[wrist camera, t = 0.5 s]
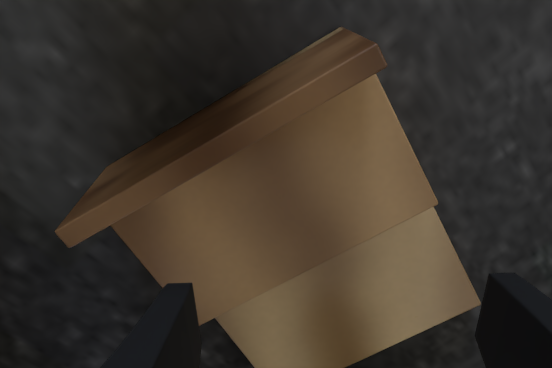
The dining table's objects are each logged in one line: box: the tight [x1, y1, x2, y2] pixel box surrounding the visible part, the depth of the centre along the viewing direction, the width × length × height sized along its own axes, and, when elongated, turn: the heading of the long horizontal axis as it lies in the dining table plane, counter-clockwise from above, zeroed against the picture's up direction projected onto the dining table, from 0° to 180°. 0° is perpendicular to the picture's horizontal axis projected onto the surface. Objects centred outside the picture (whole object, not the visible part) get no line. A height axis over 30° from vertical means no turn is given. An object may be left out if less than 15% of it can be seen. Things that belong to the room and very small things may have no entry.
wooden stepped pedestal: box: [55, 27, 481, 368], centre depth 20 cm, size 12×16×6 cm
